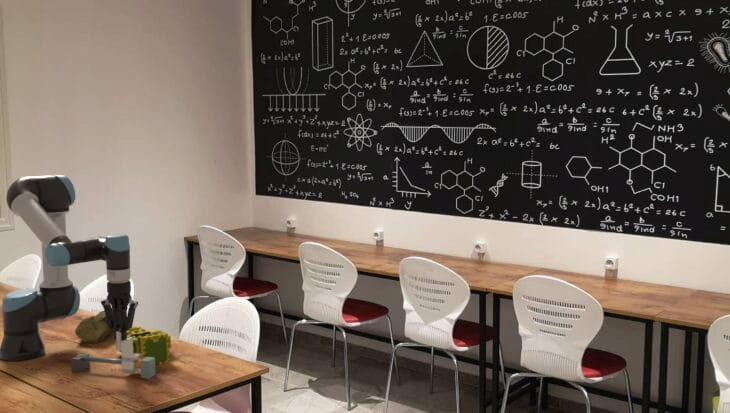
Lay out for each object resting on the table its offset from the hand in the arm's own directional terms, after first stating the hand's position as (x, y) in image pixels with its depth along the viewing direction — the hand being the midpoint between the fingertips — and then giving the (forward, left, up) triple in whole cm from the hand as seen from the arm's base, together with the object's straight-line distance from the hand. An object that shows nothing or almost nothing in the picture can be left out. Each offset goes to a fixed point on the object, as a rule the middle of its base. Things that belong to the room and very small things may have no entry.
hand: (121, 349), depth 250 cm
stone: (-34, +37, -9) cm, 51 cm away
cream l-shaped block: (+4, 0, -7) cm, 8 cm away
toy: (-5, +21, -9) cm, 23 cm away
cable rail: (-3, 0, -8) cm, 9 cm away
